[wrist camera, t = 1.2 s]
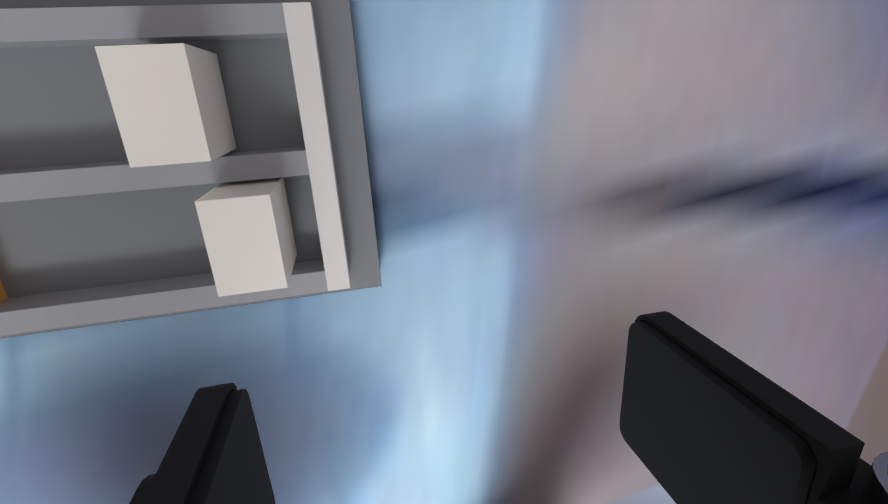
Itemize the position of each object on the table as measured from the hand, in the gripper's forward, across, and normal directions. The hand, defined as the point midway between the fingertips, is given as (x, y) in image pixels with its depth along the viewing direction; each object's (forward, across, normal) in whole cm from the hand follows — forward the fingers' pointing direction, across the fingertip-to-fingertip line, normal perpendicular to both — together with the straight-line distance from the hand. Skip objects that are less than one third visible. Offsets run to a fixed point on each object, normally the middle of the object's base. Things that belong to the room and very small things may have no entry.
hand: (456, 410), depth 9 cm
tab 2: (+18, +7, 0) cm, 19 cm away
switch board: (+20, +12, -3) cm, 23 cm away
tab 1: (+18, +9, -6) cm, 21 cm away
